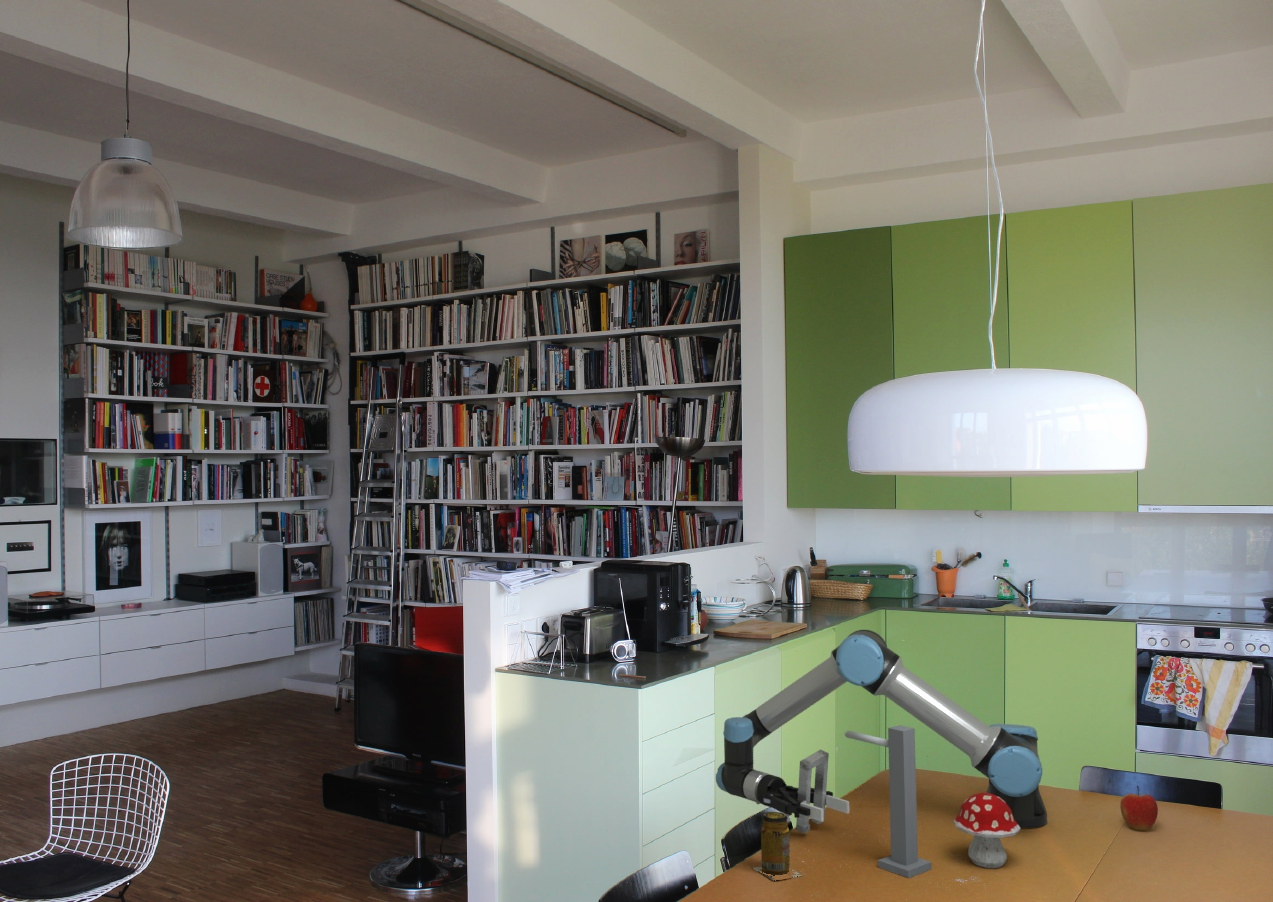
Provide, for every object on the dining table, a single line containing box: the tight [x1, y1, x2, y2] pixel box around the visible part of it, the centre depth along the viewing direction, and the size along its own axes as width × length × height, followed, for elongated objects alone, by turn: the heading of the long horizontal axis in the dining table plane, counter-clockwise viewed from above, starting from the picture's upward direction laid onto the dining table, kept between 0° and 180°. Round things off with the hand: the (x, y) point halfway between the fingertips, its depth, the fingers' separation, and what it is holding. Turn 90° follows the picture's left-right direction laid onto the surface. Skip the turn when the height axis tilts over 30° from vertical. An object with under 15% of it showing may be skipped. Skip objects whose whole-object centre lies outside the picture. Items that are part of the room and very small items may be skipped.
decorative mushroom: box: [953, 792, 1021, 869], centre depth 216 cm, size 14×14×15 cm
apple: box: [1119, 785, 1159, 832], centre depth 237 cm, size 8×8×10 cm
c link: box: [795, 749, 830, 835], centre depth 234 cm, size 8×2×18 cm, turn 133°
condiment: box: [752, 811, 803, 882], centre depth 212 cm, size 7×8×12 cm
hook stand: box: [844, 725, 932, 879], centre depth 219 cm, size 20×8×30 cm, turn 38°
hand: (835, 811), depth 229 cm, fingers closed on c link, 8 cm apart
